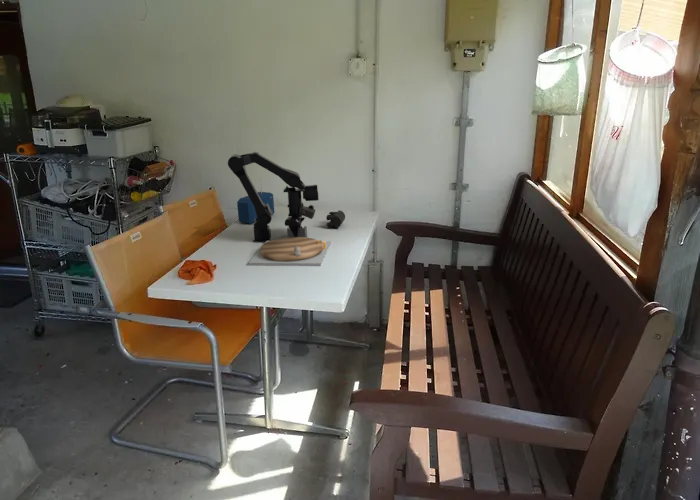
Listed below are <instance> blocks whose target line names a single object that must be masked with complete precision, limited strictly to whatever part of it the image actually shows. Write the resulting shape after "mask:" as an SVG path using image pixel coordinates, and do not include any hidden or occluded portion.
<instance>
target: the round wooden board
mask: <svg viewBox="0 0 700 500" xmlns="http://www.w3.org/2000/svg"><path fill="white" fill-rule="evenodd" d="M322 241H323V240H318V239H316V238H311V237H307V238H306V237H282V238H276V239H273V240H269V242H266V243H265V242H264V243H265V244H264V243H263V244H261V246H260V247H259V250H260V251H261V255H262V256H263V257H264V258H266V259H270V260H275V261H298V260H304V259H309V258H312V257H315V256H317V255H319V254H320V253H321V252H322V250H323V246H322Z"/></svg>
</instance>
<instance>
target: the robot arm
mask: <svg viewBox="0 0 700 500" xmlns="http://www.w3.org/2000/svg"><path fill="white" fill-rule="evenodd" d="M251 164H256V165H258V166H260V167H261V168H264V169H265V170H267V171H269V172H270V173H272V174H274V175H275V176H278V177H279V178H280V179H281V180H282V181H283V182H284V183H285V184H286V186H285V188H284V189H283V193H287V199H288V200H287V201H288V204H287V208H288V214H287V215H288V216H287V218H286V219H285V220H284V226H286V227H289V228H290V229H291V231H292V233H293V235H294V237H298V228H299V226H302V223H303V221H304V220H305V219H306V218H308V219H310V220H312V219H313V218H314V216H315V213H316V209H315V207H314V205H312V204H310V205H309V206H305V205H304V203H303V200H305V202H311V201H312V202H313V201H315V202H316V201H319V191H318V184H311V185H310V184H309V185H306V184H305V183H304V182H303V181H302V180H301V176H300V173H298V172H297V171H294V170H292V169H288V168H285V167H283V166H281V165H279V164H277V163H275V162H274V161H272V160H270V159H269V158H267V157H266V156H264V155H262V154H260V153H259V152H257V151H253V152H251V153H245V154H236V153H235V154H232V155H231V156H230V157H229V159H228V161H227V166H228V168H229V169H230V170H231V172H232V173H233V174H234V175H235V176H236V177H237V178H238V179H239V181H240V183H241V185H242V187H243V188H244V190H245V192H246V194H247V196H249V198H250V200H251V202H252V203H253V205H254V207H255V211H256V215H257V218H256V219H255V222H254V224H253V237H254V238H253V242H254V243H265V242H266V241H271V239H272V233H271V232H272V230H271V228H270V225H269V224H270V223H271V221H272V218H273V215H272V210H271V209H270V207H269V204H268V203H267V204H266V205H265V204H264V203H263V202H262V200H261V198H260V196H259V195H258V191H257V189H256V188H255V187H256V186H255V185H254V184H253V182H252V179H251V178H250V176H249V175H248V172H247V169H246V166H248V165H251ZM302 199H303V200H302Z"/></svg>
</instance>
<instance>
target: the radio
mask: <svg viewBox="0 0 700 500" xmlns="http://www.w3.org/2000/svg"><path fill="white" fill-rule="evenodd" d="M259 182H260V185H262V180H261V178H259ZM257 193H258V195H259V196H260V198H261V200H262V202H263V203H264V204H265V205H266V204H267V203H268V204H269V207H270V209H271V210H272V216H273V215H274V214H275V204H274V203H275V201H274V194H273V193H272V192H267V191H262V188H260V191H257ZM236 204H237V205H236V206H237V215H238V216H237V217H238V222H239V223H241V224H251V225H254V222H255V219H256V218H257V215H256V211H255V207H254V205H253V203H252V202H251V200H250V198H249V196H248V195H246V196H243V197H240V198H239V199H238V201H236Z"/></svg>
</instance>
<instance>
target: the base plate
mask: <svg viewBox="0 0 700 500" xmlns="http://www.w3.org/2000/svg"><path fill="white" fill-rule="evenodd" d="M269 241H270V240H269ZM269 241H266V242H269ZM321 241H322V246H323V250H322V252H321V253H320V254H319V255H317V256H315V257H312V258H309V259H304V260H298V261H275V260H270V259H266V258H264V257H263V256H262V255H261V251H260V249H258V251H257V252H256V253H255V254H254V255H253V257H252V258H251V259H250V261H249V262H248V266H279V267H280V266H287V267H289V266H290V267H291V266H293V267H294V266H298V267H299V266H300V267H301V266H302V267H305V266H306V267H307V266H308V267H320V266H322V264H323V262H324V259H325V258H326V255H327V252H328V250H329V248H330V247H331V243H332V241H331V240H321ZM266 242H263V244H265V243H266Z"/></svg>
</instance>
